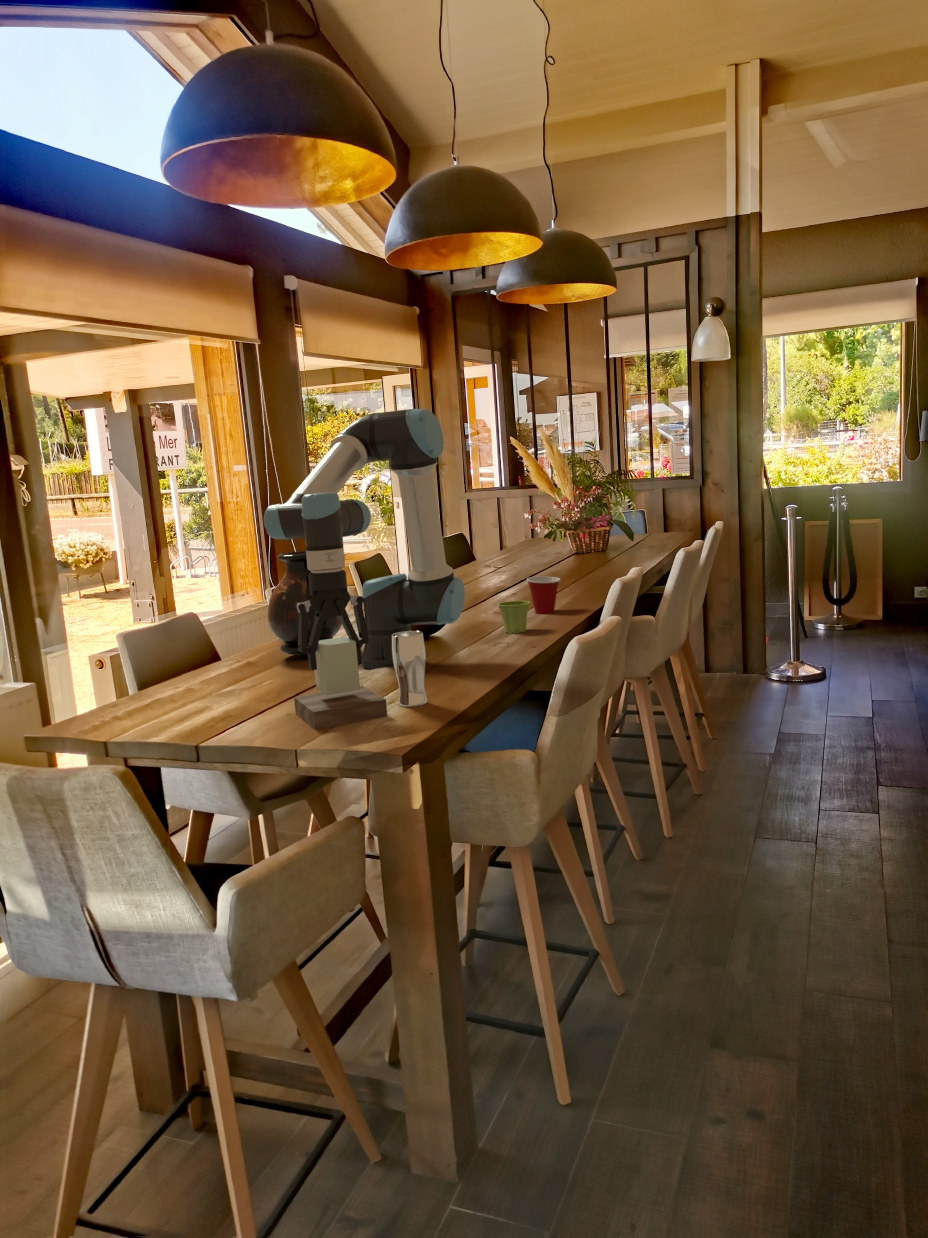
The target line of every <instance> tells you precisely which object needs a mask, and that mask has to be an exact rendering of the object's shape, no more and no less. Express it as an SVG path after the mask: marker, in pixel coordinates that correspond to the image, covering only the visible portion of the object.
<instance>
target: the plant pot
mask: <svg viewBox="0 0 928 1238" xmlns="http://www.w3.org/2000/svg"><path fill="white" fill-rule="evenodd" d="M530 605H531V601H529V600H510V601H509V600H508V601H502V602H498V603H497V606H498V608H499V611H500V614H501V618H502V619H501V620H502V623H503V628H504V633H505V632H506V633H505V634H509V633H515V634H520V633H525V632H526V631H527V623H528V622H527V621H528V609H529V606H530Z"/></svg>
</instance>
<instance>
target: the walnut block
mask: <svg viewBox="0 0 928 1238" xmlns="http://www.w3.org/2000/svg"><path fill="white" fill-rule="evenodd" d="M293 700H294V709H295V715H297V716H298V717H299V718H300V719H301V720H302V721H304V722H305V723H306V724H308V725H309V726H310V727H311V728H312V729H314V730H321V729H327V728H333V727H338V726H343V725H349V724H354V723H359V722H365V721H370V720H376V719H381V718H387V717H388V708H387V699H386V698H384V697H382V696H381V695H379V694H377V693H375V692H374V691H372V690H370V689H369V688H367V687H365V686H363V685H360V690H355V691H349V692H343V693H338V694H332V695H326V694H324V693H322V692H318V693H312V694H306V695H301V696H295V697H293Z"/></svg>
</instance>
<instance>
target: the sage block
mask: <svg viewBox="0 0 928 1238" xmlns="http://www.w3.org/2000/svg"><path fill="white" fill-rule="evenodd" d="M316 653H318V654H320V660H321V670H322V681H323V686H318V685H316V684H315V685H316V686H315V687H316V690H317V691H319V692H320V693H324V694H326V695H332V694H338V693H343V692H349V691H355V690H360V686H361V685H360V684H361V683H360V675H359V674H360V673H359V672H358V671H359V663H358V661H357V650H356V641H354V640H351V639H349V637H346V636H342V637H341V636H340V637H333V639H326V640H319V643H318V647H317V650H316Z"/></svg>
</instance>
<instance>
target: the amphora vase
mask: <svg viewBox="0 0 928 1238" xmlns="http://www.w3.org/2000/svg"><path fill="white" fill-rule="evenodd" d="M276 557H277V560H278V561H282V562H284V566H285V573H284V575H283V577H282V578H281V579H280V580H279V583H278V584H277V585H276V587H275V588H274V589H273V591H272V593H271V596H270V598H269V602H268V605H267V606H268V607H267V622H268V626H269V628H270V630H271V632H272V634H274V636H275V637H276V638H277V639H278V640H280V641H281V642H282V644H280V646H279V650H280V652H282V654H283V653H284V654H286V655H294V656H295V655H296V656H303V655H308V654H307V653H303V652H301V651H299V650H298V616H299V614H298V611H297V609H296V604H297V603H303V602H305V601H308V600H309V597H310V587H309V577H308V575H309V573H311V571H310V570H308V567H307V556H306V550H301V551H291V552H283V553H280V554H278V555H277V556H276ZM315 613H316V611H315V610H314V609H313V608H312V606H310V607H309V612H307V615H308V629H307V647H308V643H309V640H310V636H311V632H312V628H313V624H314V617H315ZM342 627H343V625H342V623H341V621H340V619H339V617H338V616H330V617H326V619H325V622H324V623H323V627H322V631H321V635H320V639H319V640H326V639H333V638H335V636H336V635H337V634H338V632H339V631H340V630H341V628H342Z"/></svg>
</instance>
